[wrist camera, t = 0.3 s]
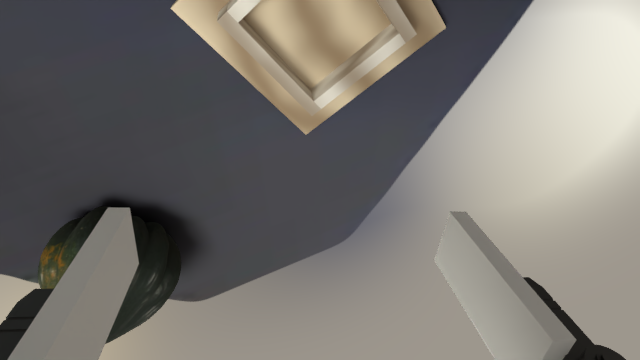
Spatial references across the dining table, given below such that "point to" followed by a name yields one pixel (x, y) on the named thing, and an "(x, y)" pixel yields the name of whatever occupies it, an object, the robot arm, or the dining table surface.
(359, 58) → the tray
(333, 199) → the dining table surface
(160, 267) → the squash
